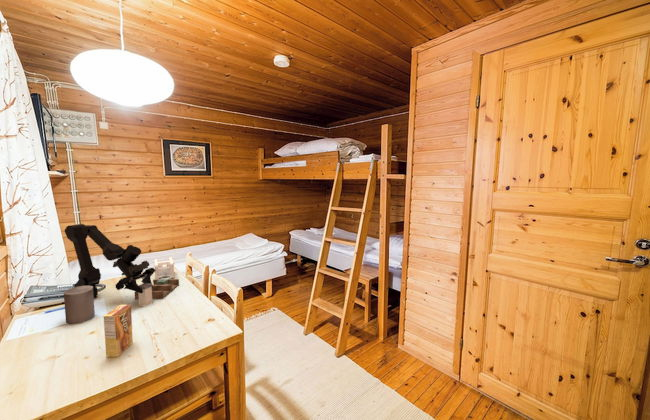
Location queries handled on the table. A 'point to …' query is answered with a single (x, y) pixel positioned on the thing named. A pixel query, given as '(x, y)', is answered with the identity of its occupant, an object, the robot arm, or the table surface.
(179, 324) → the table surface
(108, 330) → the candy box
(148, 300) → the tan lidded canister
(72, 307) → the pillar candle
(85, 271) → the robot arm
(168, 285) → the brown compartment tray
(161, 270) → the cable organizer
